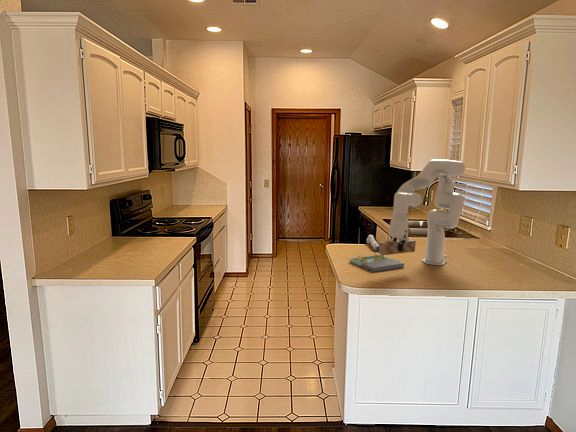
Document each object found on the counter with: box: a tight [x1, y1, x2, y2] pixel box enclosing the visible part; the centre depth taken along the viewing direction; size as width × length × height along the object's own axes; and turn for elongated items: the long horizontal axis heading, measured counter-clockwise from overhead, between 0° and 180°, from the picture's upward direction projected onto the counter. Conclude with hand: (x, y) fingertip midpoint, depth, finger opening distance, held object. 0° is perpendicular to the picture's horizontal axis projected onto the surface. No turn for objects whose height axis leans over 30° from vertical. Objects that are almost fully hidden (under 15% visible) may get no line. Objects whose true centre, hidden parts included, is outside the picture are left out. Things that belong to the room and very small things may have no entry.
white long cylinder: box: [366, 234, 379, 253], centre depth 276 cm, size 5×7×25 cm
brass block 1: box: [356, 254, 368, 263], centre depth 235 cm, size 4×4×4 cm
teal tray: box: [349, 254, 391, 268], centre depth 238 cm, size 22×10×2 cm, turn 118°
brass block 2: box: [373, 252, 385, 261], centre depth 241 cm, size 4×4×4 cm
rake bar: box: [378, 238, 417, 256], centre depth 217 cm, size 22×4×6 cm, turn 118°
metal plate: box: [361, 258, 405, 273], centre depth 229 cm, size 22×10×2 cm, turn 118°
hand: (397, 249), depth 218 cm, fingers closed on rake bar, 4 cm apart
